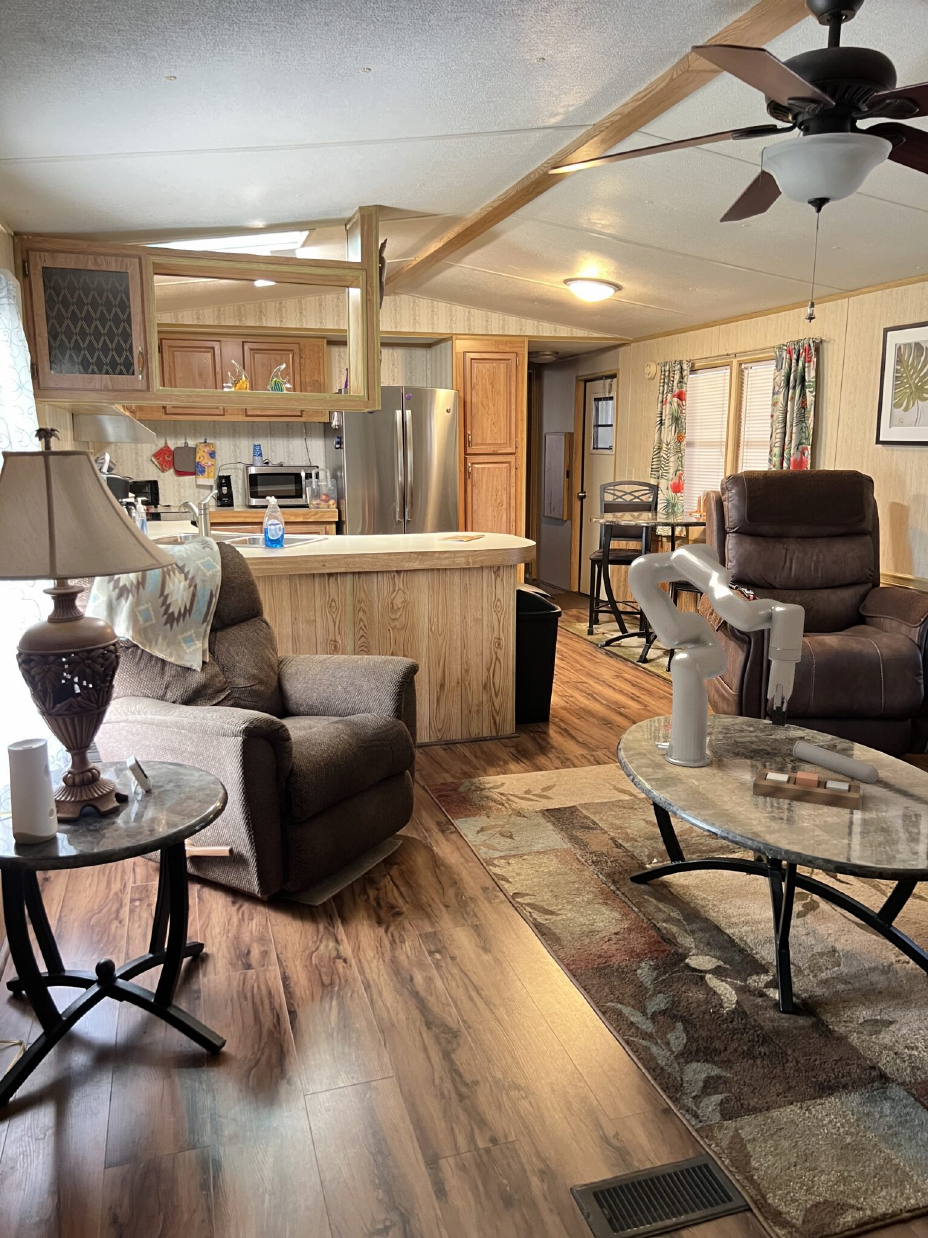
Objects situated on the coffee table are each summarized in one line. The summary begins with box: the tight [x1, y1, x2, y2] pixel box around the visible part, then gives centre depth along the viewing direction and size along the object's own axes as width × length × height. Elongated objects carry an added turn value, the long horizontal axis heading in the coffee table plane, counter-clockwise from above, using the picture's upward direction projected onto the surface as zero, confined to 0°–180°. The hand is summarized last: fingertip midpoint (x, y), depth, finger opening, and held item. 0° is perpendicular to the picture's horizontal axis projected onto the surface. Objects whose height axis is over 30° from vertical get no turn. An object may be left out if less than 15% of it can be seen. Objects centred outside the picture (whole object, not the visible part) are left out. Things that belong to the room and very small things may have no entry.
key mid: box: [796, 770, 820, 788], centre depth 221 cm, size 5×5×3 cm
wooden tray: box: [752, 768, 862, 811], centre depth 221 cm, size 24×12×3 cm, turn 65°
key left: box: [766, 772, 789, 784], centre depth 224 cm, size 5×5×3 cm
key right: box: [826, 780, 849, 792], centre depth 218 cm, size 5×5×3 cm
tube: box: [792, 739, 880, 785], centre depth 239 cm, size 5×5×25 cm
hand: (778, 724), depth 225 cm, fingers closed
